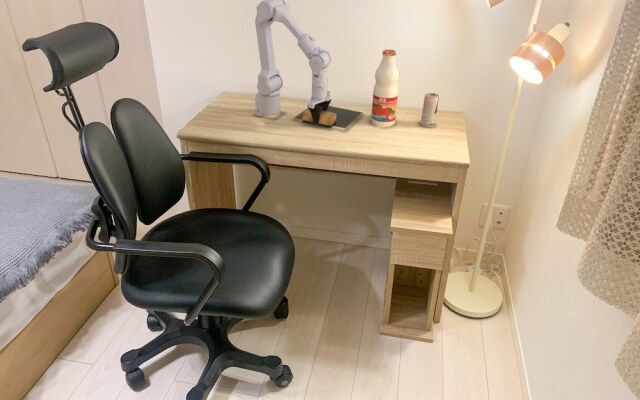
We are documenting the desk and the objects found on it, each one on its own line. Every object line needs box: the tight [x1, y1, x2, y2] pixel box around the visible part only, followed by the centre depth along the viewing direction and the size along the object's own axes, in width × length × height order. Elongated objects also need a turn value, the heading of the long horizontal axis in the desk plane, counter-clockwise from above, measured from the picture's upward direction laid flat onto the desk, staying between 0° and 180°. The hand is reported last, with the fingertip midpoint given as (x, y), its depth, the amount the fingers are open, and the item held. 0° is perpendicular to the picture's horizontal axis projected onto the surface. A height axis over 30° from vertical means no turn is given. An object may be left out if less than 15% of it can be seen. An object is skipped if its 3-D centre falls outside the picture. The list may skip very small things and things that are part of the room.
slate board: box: [294, 105, 364, 129], centre depth 191 cm, size 22×18×1 cm
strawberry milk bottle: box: [370, 49, 400, 126], centre depth 180 cm, size 9×9×28 cm
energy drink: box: [420, 92, 440, 128], centre depth 184 cm, size 5×5×12 cm
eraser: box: [301, 107, 336, 129], centre depth 183 cm, size 12×5×4 cm, turn 64°
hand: (319, 119), depth 183 cm, fingers closed on eraser, 5 cm apart
